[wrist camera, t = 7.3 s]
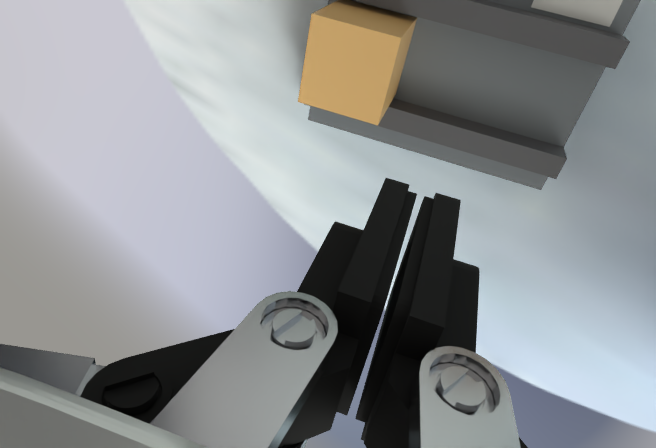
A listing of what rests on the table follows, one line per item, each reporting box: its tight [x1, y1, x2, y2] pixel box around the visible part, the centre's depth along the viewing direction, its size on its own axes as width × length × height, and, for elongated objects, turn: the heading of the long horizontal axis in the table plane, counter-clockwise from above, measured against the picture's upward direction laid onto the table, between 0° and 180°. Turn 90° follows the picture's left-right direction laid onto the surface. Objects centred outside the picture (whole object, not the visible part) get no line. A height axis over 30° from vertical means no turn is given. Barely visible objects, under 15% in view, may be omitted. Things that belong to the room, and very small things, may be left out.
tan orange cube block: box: [298, 0, 417, 125], centre depth 23 cm, size 4×4×5 cm
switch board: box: [306, 0, 641, 190], centre depth 25 cm, size 14×10×4 cm
